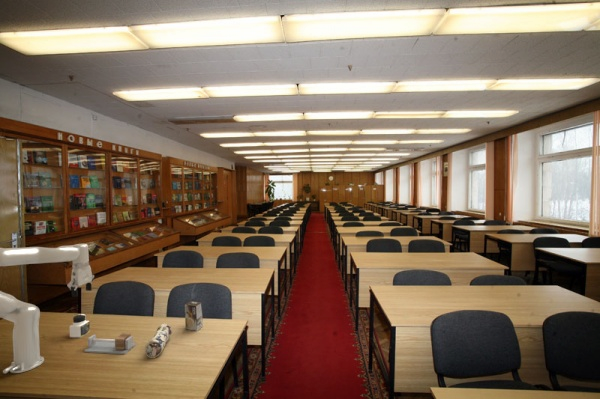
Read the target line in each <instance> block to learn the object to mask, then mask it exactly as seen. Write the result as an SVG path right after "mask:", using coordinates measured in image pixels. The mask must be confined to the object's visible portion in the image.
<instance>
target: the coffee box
mask: <svg viewBox="0 0 600 399" xmlns="http://www.w3.org/2000/svg"><path fill="white" fill-rule="evenodd" d="M184 318H185V322H184V323H185V324H184V325H185V330H191V331H197V332H198V331H199V330H200V329H202V328H203V327H204V326H203V324H204V323H203V322H204V321H203V302H201V301H193V300H190V301H188V302H187V303H185V304H184Z"/></svg>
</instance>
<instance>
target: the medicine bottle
mask: <svg viewBox="0 0 600 399" xmlns="http://www.w3.org/2000/svg"><path fill="white" fill-rule="evenodd" d="M86 319H87V318H86V314H84V313H81V314H76V315H75V316H74V317H72V320H73V321H72V324H71V325H69V327H68V328H69V338H83V337H84V336H86V335H87V334H88V333H90V329H91V328H90V320H86Z"/></svg>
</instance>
